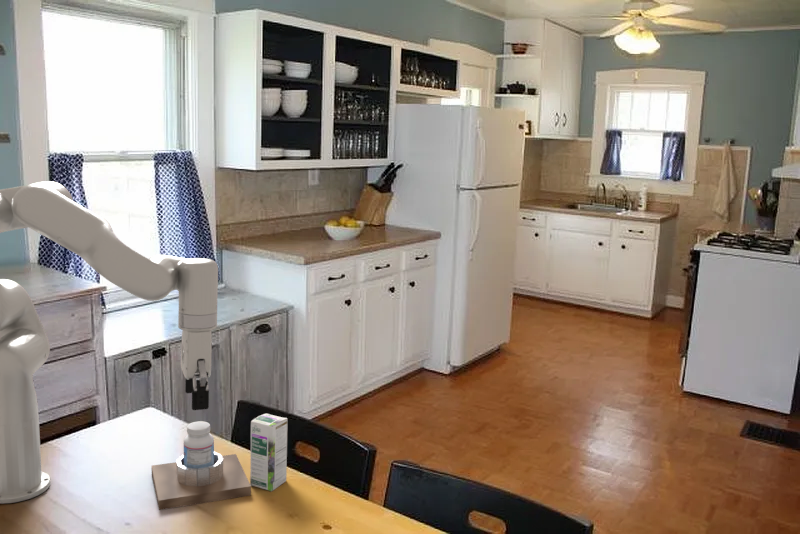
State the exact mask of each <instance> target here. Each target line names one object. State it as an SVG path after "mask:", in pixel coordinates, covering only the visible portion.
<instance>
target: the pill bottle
mask: <svg viewBox="0 0 800 534" xmlns="http://www.w3.org/2000/svg"><path fill="white" fill-rule="evenodd" d="M186 429H187V430H186V432H187V434H186V436H185V437H184V438H183V455H184V466H185V467H188V468H197V469H198V468H205V467H209V466H212V465H214V452H215V438H214V436H213V435H212V434H211V433H210V431H211V424H210V423H209V422H207V421H202V420H200V421H193V422H190V423H188V424H187V426H186Z"/></svg>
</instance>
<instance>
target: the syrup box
mask: <svg viewBox="0 0 800 534" xmlns="http://www.w3.org/2000/svg"><path fill="white" fill-rule="evenodd" d="M287 457H288V418H287V417H283V416H282V417H281V416H277V415H273V414H270V413H263V414H261V415H258V416H257V417H254V418H253V419H252V420H251V421H250V477H249V480H250V481H249V483H250V485H251V487H255V488H260V489H262V490H266V491H269V492H273V491H275V490H276V489H277V488H279V487H280V486H282V484H284V483H286V481H287V468H288V467H287V466H288V465H287V463H288V462H287V460H288V459H287Z"/></svg>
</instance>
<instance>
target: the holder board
mask: <svg viewBox="0 0 800 534" xmlns="http://www.w3.org/2000/svg"><path fill="white" fill-rule="evenodd" d="M222 458H223V476H222V477H221V479H220V480H219V481H216V482H214V483H212V484H209V485H204V486H187V485H184V484H182V483H180V482H178V480H177V470H176V461H174V462H169V463H161V464H154V465H153V464H152V465H151V477H152V481H153V482H152V483H153V487H154V493H155V499H156V502H157V507H158V511H161V510H167V509H174V508H180V507H186V506H192V505H199V504H206V503H211V502H217V501H224V500H229V499H230V500H231V499H236V498H242V497H247V496H252V486H251V485H250V481H249V479H248V477H247V475H246V473H245V471H244V469H243V466H242V464H241V462H240V460H239V457H238V455H237V454H236V453H232V454H227V455H226V454H225V455H222Z"/></svg>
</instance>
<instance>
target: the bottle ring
mask: <svg viewBox="0 0 800 534" xmlns="http://www.w3.org/2000/svg"><path fill="white" fill-rule="evenodd" d="M222 456H223V455H222V454H221V453H219V452H216V451H214V465H212V466H209V467H205V468H198V469H197V468H188V467H185V466H184V454H182V455H181V456H179V457H178V458H177V459H176V460H175V462H176V470H177V480H178V482H180V483H182V484H184V485H187V486H204V485H209V484H212V483H214V482H216V481H219V480H220V479H221V477H222V476H223V458H222Z"/></svg>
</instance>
